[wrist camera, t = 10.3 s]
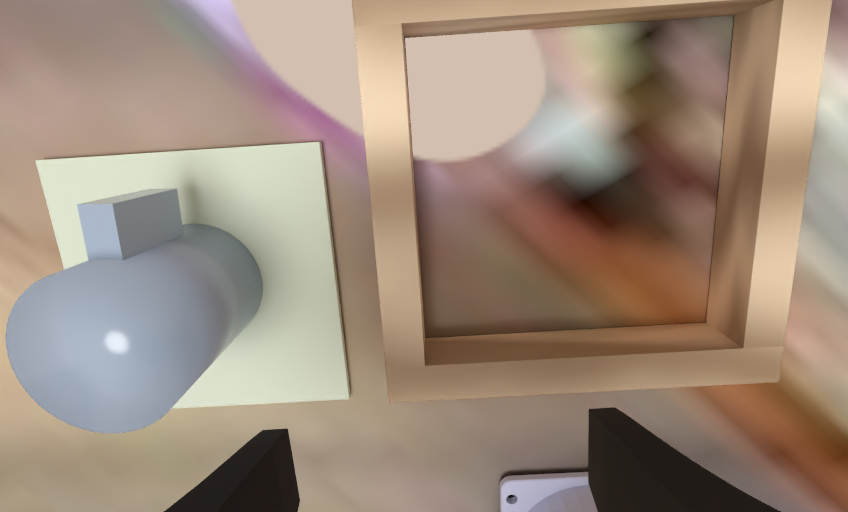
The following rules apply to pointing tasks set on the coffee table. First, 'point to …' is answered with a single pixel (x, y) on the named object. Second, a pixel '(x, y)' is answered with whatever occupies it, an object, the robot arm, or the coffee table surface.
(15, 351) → the grey rounded cylinder
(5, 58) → the coffee table surface
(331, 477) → the coffee table surface
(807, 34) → the frame
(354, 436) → the coffee table surface
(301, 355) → the sage mat
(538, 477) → the robot arm
